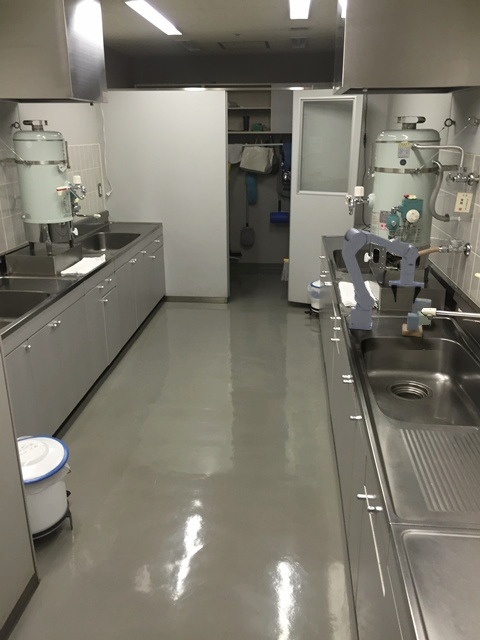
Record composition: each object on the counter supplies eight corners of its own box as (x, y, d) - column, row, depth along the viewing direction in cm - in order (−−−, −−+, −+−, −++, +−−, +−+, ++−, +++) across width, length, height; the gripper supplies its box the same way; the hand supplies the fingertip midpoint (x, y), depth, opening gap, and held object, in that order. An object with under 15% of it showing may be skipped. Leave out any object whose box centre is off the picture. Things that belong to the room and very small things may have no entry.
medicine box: (429, 317, 241) (431, 299, 238) (428, 320, 237) (430, 302, 234) (412, 314, 244) (413, 297, 241) (410, 318, 240) (412, 300, 237)
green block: (418, 325, 232) (419, 315, 230) (415, 320, 237) (417, 310, 235) (430, 326, 231) (431, 315, 229) (427, 321, 237) (428, 310, 235)
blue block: (406, 329, 223) (408, 316, 220) (406, 325, 227) (408, 312, 224) (417, 330, 221) (419, 317, 219) (417, 326, 225) (419, 313, 223)
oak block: (402, 335, 222) (402, 330, 221) (402, 328, 229) (402, 323, 229) (421, 336, 220) (422, 332, 219) (421, 329, 227) (421, 325, 226)
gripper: (389, 274, 223) (387, 303, 228) (425, 276, 219) (422, 306, 224) (390, 269, 229) (387, 298, 234) (424, 271, 226) (421, 301, 231)
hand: (404, 302), depth 230 cm, fingers open, 7 cm apart
